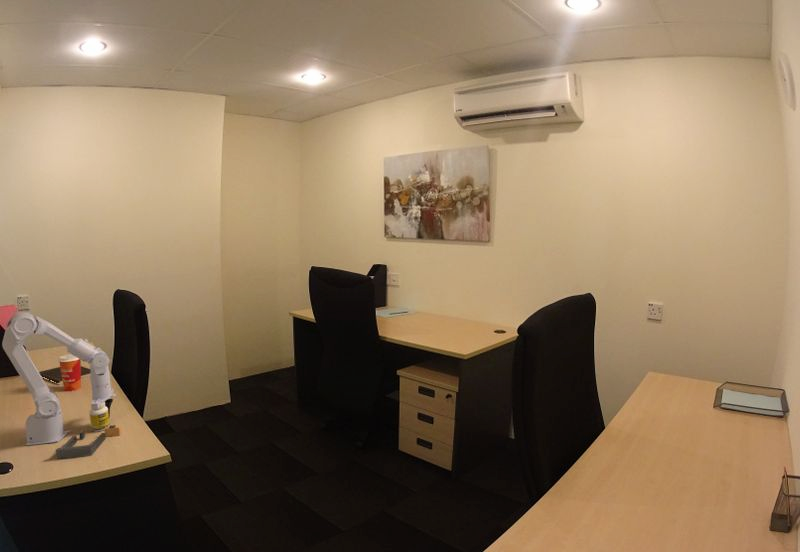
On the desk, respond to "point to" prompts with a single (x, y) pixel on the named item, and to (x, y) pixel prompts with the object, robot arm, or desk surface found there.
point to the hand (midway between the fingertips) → (105, 419)
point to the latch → (112, 430)
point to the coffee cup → (70, 372)
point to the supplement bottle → (99, 418)
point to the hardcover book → (57, 376)
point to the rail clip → (79, 447)
